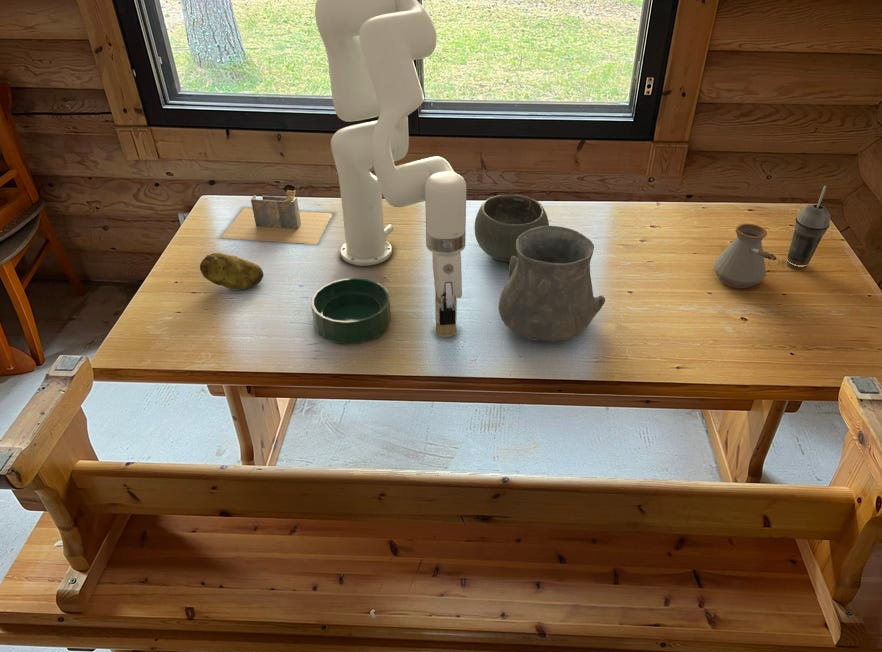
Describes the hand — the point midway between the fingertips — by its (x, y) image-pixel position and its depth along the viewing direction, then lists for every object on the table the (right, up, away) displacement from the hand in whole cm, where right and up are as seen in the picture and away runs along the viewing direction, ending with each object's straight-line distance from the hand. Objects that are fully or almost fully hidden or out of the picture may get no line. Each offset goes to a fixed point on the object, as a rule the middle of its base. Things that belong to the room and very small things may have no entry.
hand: (445, 314), depth 142 cm
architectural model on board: (-44, +26, +38) cm, 64 cm away
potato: (-49, +8, +16) cm, 52 cm away
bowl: (+16, +16, +27) cm, 35 cm away
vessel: (+22, -2, +5) cm, 23 cm away
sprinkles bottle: (0, -4, +3) cm, 5 cm away
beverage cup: (+84, +13, +23) cm, 89 cm away
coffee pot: (+68, +6, +15) cm, 70 cm away
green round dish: (-20, -1, +5) cm, 21 cm away
